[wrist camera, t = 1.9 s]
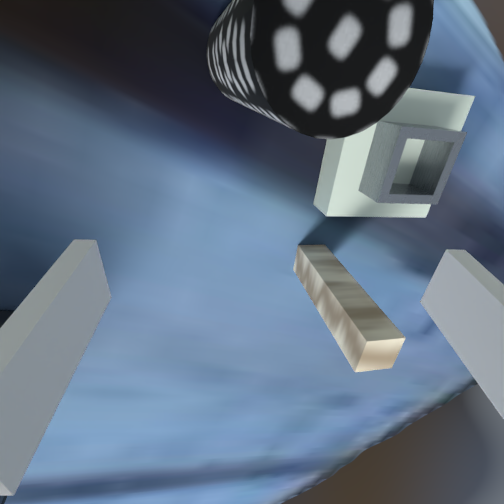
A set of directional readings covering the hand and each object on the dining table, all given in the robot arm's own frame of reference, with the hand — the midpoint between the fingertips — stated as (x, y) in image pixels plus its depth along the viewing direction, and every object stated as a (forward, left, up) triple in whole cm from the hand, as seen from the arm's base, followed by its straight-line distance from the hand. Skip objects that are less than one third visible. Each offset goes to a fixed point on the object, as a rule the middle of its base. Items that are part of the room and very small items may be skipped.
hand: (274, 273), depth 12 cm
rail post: (-15, -14, -25) cm, 33 cm away
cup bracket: (0, -20, -21) cm, 30 cm away
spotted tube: (+8, -3, -25) cm, 27 cm away
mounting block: (0, -20, -25) cm, 33 cm away
